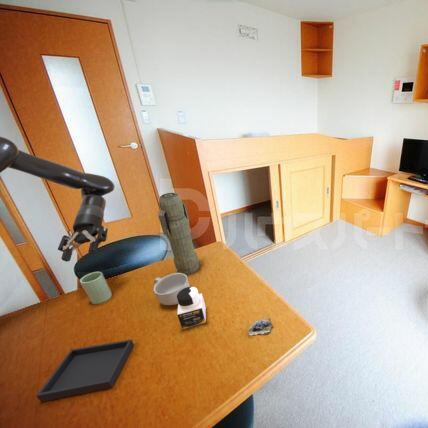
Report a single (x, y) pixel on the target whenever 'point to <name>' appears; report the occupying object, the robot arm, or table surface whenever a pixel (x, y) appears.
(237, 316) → the table surface
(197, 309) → the medicine bottle
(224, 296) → the table surface
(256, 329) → the blueberries
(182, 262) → the thermos
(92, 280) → the celadon cup
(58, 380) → the tray
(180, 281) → the teacup
